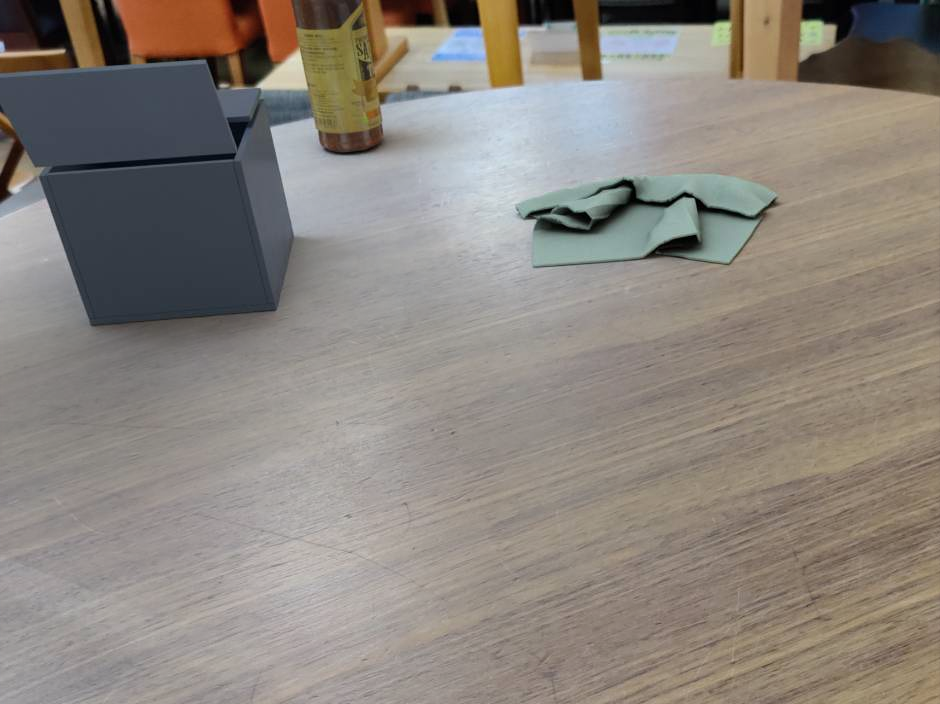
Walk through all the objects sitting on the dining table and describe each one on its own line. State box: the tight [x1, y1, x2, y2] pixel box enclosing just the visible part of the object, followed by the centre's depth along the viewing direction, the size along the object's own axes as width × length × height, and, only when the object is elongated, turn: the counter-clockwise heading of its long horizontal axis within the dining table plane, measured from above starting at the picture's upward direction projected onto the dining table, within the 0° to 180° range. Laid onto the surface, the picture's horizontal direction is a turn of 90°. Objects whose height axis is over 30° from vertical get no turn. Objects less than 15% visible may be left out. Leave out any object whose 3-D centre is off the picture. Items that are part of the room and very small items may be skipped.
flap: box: [0, 59, 237, 168], centre depth 75 cm, size 7×13×1 cm
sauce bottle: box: [290, 0, 384, 153], centre depth 108 cm, size 7×6×20 cm
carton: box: [38, 87, 295, 326], centre depth 87 cm, size 14×13×11 cm
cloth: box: [514, 173, 780, 268], centre depth 96 cm, size 20×22×2 cm
